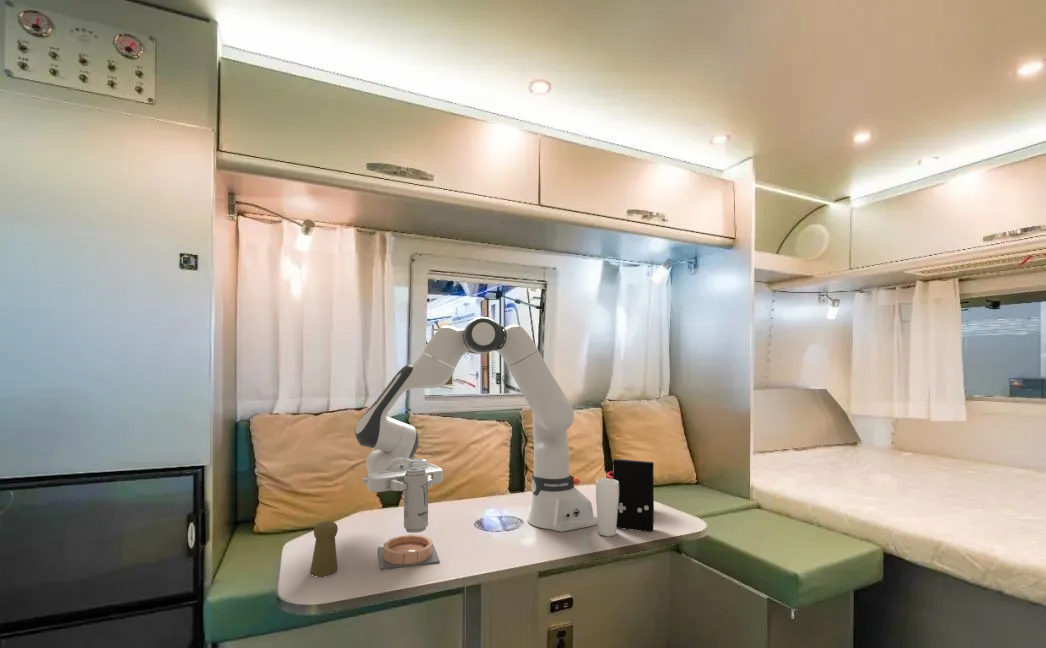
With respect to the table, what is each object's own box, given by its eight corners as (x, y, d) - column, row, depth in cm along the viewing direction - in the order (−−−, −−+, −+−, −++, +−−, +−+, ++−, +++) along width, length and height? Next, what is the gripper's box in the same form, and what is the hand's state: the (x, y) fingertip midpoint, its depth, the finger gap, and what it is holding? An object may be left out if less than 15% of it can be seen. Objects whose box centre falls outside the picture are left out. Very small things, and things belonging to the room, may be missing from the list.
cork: (315, 565, 114) (317, 518, 115) (341, 565, 115) (343, 518, 116) (305, 577, 108) (308, 527, 109) (333, 577, 109) (335, 527, 110)
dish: (432, 542, 130) (432, 531, 130) (439, 562, 117) (440, 550, 118) (378, 548, 125) (378, 537, 125) (380, 569, 113) (380, 557, 113)
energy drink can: (424, 533, 119) (423, 471, 121) (400, 533, 120) (400, 471, 121) (430, 526, 125) (430, 467, 127) (408, 526, 126) (408, 467, 127)
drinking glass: (618, 539, 135) (619, 484, 136) (594, 536, 136) (595, 483, 137) (619, 530, 142) (619, 479, 143) (595, 528, 143) (596, 477, 144)
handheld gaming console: (612, 527, 144) (612, 460, 145) (614, 523, 148) (614, 457, 149) (653, 533, 140) (653, 463, 141) (654, 528, 144) (654, 460, 146)
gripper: (359, 466, 128) (378, 478, 117) (430, 458, 140) (452, 468, 129) (358, 490, 127) (376, 504, 116) (429, 480, 139) (451, 492, 128)
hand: (417, 485), depth 123 cm, fingers closed on energy drink can, 6 cm apart
